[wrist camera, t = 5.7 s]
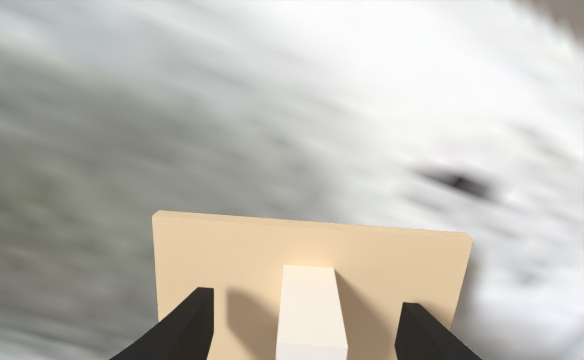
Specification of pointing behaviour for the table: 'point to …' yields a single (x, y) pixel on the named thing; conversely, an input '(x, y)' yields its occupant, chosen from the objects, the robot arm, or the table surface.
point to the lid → (306, 282)
